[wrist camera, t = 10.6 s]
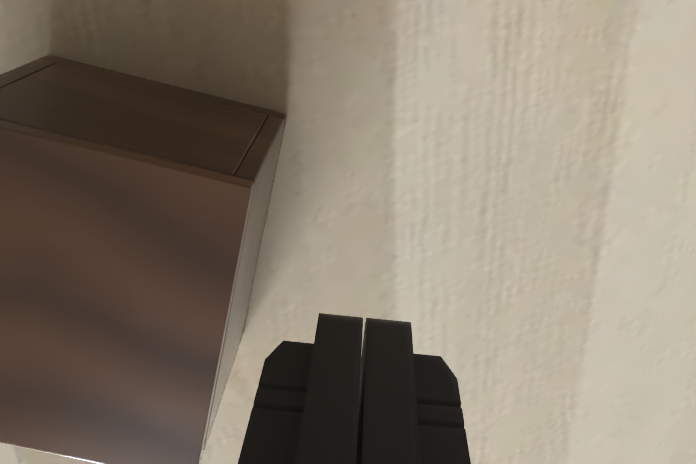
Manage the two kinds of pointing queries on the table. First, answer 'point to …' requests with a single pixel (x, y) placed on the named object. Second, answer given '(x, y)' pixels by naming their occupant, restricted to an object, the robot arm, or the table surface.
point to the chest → (159, 144)
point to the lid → (112, 297)
